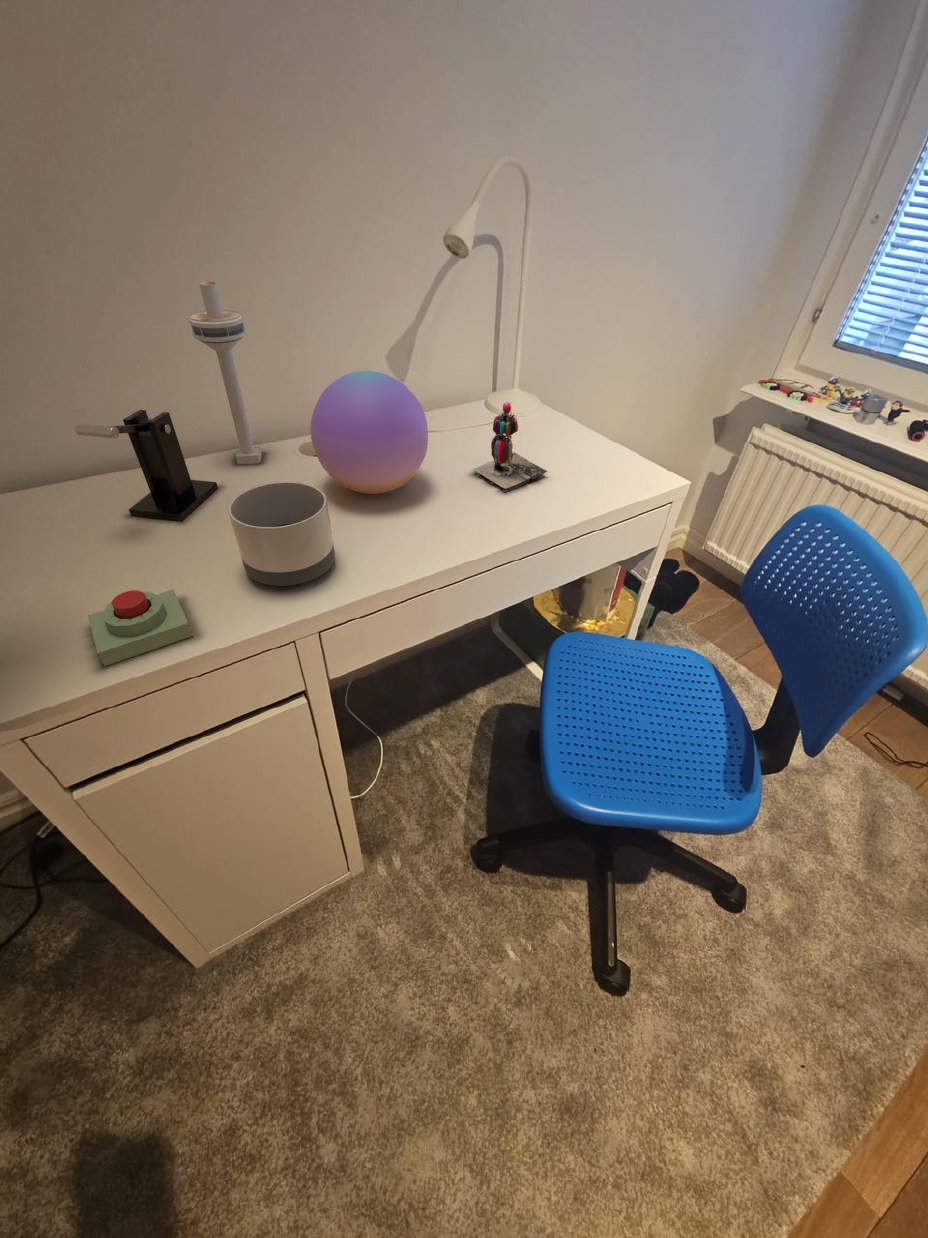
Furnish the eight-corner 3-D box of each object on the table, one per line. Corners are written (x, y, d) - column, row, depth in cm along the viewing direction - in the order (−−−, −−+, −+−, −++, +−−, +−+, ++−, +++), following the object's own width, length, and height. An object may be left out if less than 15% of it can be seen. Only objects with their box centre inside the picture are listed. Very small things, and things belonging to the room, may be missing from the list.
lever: (112, 442, 74) (109, 423, 73) (76, 438, 75) (72, 420, 74) (173, 436, 86) (171, 420, 85) (141, 433, 87) (139, 417, 86)
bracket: (181, 521, 88) (150, 433, 79) (131, 515, 89) (93, 427, 80) (218, 488, 97) (193, 405, 88) (171, 483, 98) (142, 400, 89)
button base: (104, 666, 63) (90, 641, 61) (95, 628, 68) (81, 603, 66) (193, 636, 68) (183, 611, 65) (178, 602, 73) (169, 578, 70)
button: (119, 623, 64) (114, 612, 63) (114, 607, 66) (109, 596, 65) (152, 613, 65) (147, 602, 64) (146, 597, 68) (141, 586, 67)
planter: (244, 550, 83) (227, 487, 76) (329, 537, 86) (319, 476, 79) (248, 600, 73) (228, 534, 67) (342, 584, 77) (333, 520, 70)
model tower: (230, 451, 109) (185, 278, 89) (273, 449, 110) (237, 278, 91) (224, 469, 103) (174, 288, 83) (270, 467, 104) (231, 288, 85)
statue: (505, 498, 100) (505, 421, 90) (473, 478, 106) (469, 403, 95) (547, 476, 105) (552, 400, 94) (514, 458, 110) (515, 384, 99)
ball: (451, 488, 100) (453, 375, 87) (368, 527, 89) (356, 404, 76) (380, 455, 110) (372, 349, 97) (297, 487, 98) (275, 371, 85)
